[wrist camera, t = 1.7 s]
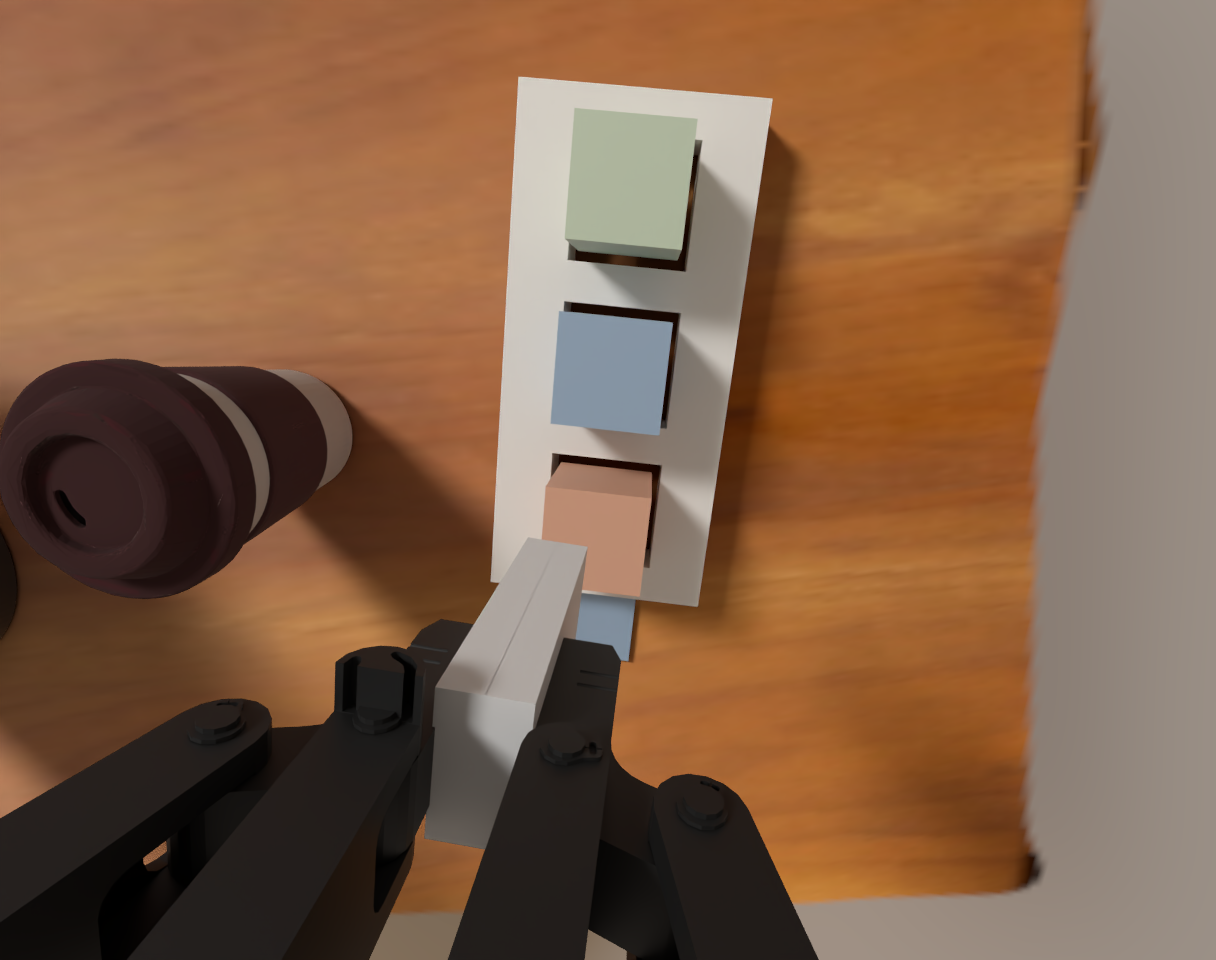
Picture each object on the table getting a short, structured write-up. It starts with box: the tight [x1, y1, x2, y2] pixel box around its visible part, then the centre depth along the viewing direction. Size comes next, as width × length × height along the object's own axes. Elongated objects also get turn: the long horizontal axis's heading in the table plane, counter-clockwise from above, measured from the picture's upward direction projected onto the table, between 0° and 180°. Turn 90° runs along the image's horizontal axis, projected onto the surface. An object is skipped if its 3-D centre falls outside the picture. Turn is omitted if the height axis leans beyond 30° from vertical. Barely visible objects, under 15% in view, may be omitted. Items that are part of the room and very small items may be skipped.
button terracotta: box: [542, 462, 652, 597], centre depth 33 cm, size 5×5×5 cm
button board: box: [491, 77, 773, 607], centre depth 34 cm, size 12×26×3 cm, turn 174°
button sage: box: [565, 108, 698, 261], centre depth 29 cm, size 5×5×5 cm
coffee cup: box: [0, 359, 352, 599], centre depth 31 cm, size 10×10×15 cm
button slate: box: [550, 311, 673, 436], centre depth 31 cm, size 5×5×5 cm
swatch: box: [576, 593, 636, 661], centre depth 40 cm, size 5×5×1 cm
